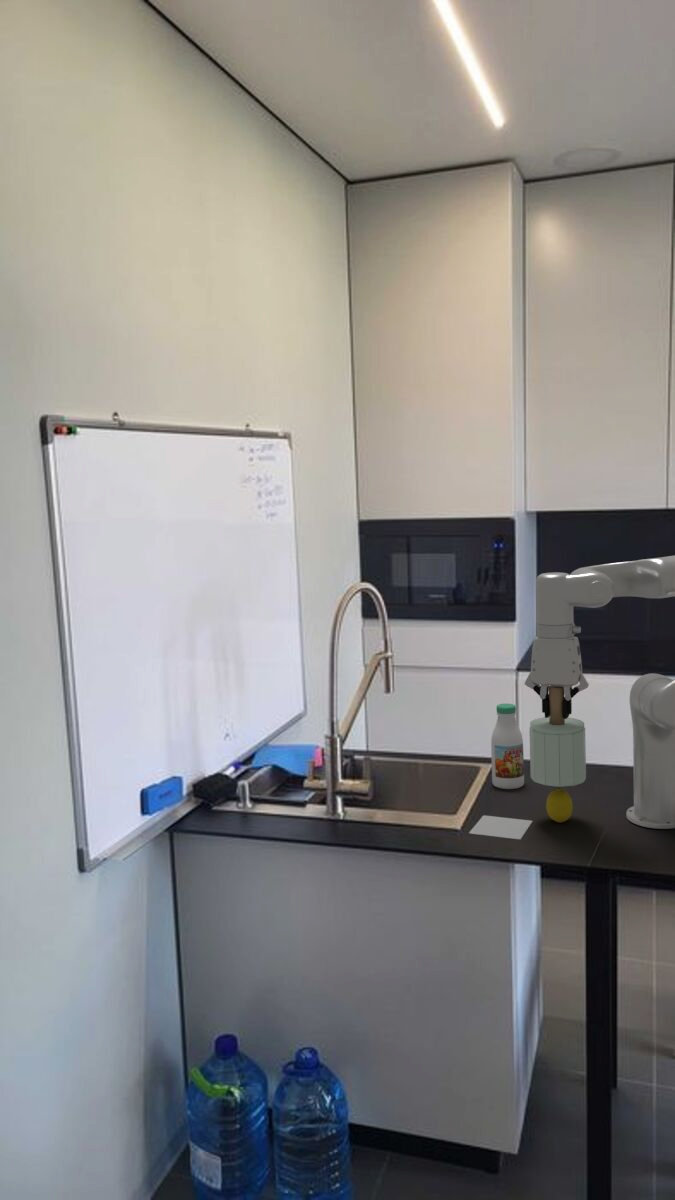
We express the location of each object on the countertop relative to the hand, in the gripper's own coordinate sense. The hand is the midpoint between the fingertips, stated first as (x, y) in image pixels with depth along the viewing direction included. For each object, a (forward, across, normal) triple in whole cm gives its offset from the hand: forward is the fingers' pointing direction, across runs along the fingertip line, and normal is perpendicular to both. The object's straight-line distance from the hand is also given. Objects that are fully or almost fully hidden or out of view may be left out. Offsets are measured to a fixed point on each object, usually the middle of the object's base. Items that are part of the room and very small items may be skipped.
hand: (556, 715), depth 193 cm
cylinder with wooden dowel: (+14, 0, 0) cm, 14 cm away
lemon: (+24, 0, 0) cm, 24 cm away
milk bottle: (+24, +17, -22) cm, 37 cm away
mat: (+24, +11, +7) cm, 27 cm away
